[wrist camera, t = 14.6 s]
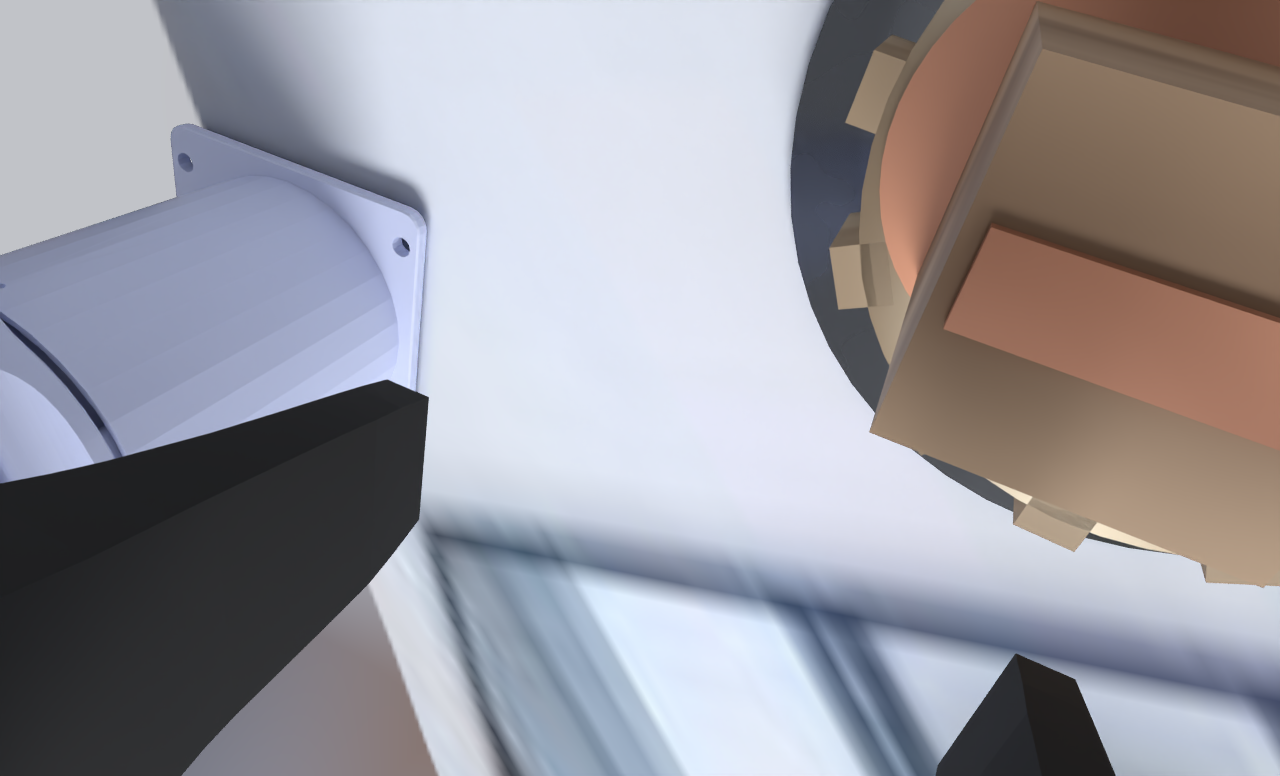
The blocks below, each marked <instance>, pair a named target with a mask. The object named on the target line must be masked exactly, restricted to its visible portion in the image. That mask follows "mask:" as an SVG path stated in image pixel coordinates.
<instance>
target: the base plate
mask: <svg viewBox="0 0 1280 776" xmlns="http://www.w3.org/2000/svg"><path fill="white" fill-rule="evenodd" d="M943 2H944V0H834V1H833V3H832V5H831V7H830V9H829V12H828V14H827V17H826V20H825V22H824V25H823V28H822V30H821V33H820V36H819V39H818V41H817V44H816V47H815V49H814V52H813V55H812V57H811V60H810V63H809V66H808V70H807V74H806V78H805V83H804V87H803V91H802V95H801V99H800V103H799V108H798V112H797V116H796V123H795V132H794V141H793V151H792V160H791V217H792V224H793V230H794V237H795V244H796V250H797V257H798V263H799V267H800V270H801V273H802V277H803V280H804V284H805V287H806V290H807V294H808V297H809V301H810V304H811V307H812V309H813V312H814V314H815V316H816V318H817V321H818V323H819V325H820V327H821V330H822V332H823V334H824V336H825V339H826V341H827V343H828V345H829V347H830V349H831V351H832V352H833V354H834V355H835V357H836V359H837V360H838V362H839V364H840V365H841V367H842V369H843V370H844V372H845V373H846V375H847V377H848V378H849V380H850V382H851V383H852V385H853V386H854V387H855V388H856V390H857V391H858V392H859V393H860V395H861V396H862V397H863V398H864V400H865V401H866V402H867V403H868V404H869V406H870V407H871V408H872V409H873V411H874V412H876V409H877V405H878V402H879V399H880V396H881V392H882V389H883V386H884V383H885V379H886V376H887V373H888V370H889V364H888V362H887V360H886V358H885V356H884V354H883V352H882V349H881V346H880V343H879V341H878V338H877V335H876V332H875V329H874V327H873V324H872V321H871V318H870V315H869V310H868V307H864V308H852V309H839V310H838V303H837V297H836V290H835V283H834V276H833V270H832V263H831V256H830V249H829V247H830V246H831V244H832V242H833V241H834V239H835V237H836V236H837V234H838V232H839V231H840V229H841V227H842V226H843V224H844V222H845V221H846V219H847V217H848V216H849V214H850V213H856V212H861V199H862V189H863V184H864V179H865V174H866V170H867V165H868V160H869V155H870V151H871V146H872V143H873V140H874V137H875V134H874V133H872V132H869V131H866V130H864V129H861V128H858V127H856V126H853V125H850V124H848V123H845V122H846V119H847V117H848V114H849V112H850V109H851V107H852V104H853V102H854V99H855V97H856V94H857V92H858V89H859V87H860V84H861V82H862V79H863V77H864V74H865V72H866V69H867V67H868V64H869V62H870V59H871V57H872V54H873V51H874V50H875V49H876V48H877V47H878V46H879V45H880V44H882V43H883V42H884V41H885V40H886V39H887V38H889V37H890V36H891V35H895V36H898V37H901V38H903V39H906V40H909V41H912V42H915V43H917V41H918V40H919V38H920V37H921V35H922V34H923V32H924V31H925V29H926V28H927V26H928V25H929V23H930V21H931V20H932V18H933V17H934V15H935V14H936V12H937V11H938V9H939V8H940V6H941V5H942V3H943ZM912 450H913V449H912ZM914 451H915V452H916V453H918V454H919V452H918V451H916V450H914ZM919 455H920V454H919ZM920 456H921V457H923V458H924V459H925V460H927V461H928V462H929V463H931V464H932V465H933V466H935V467H936V468H937V469H938V470H940V471H941V472H942V473H944V474H945V475H946V476H948V477H950V478H951V479H953V480H955V481H956V482H958V483H960V484H961V485H963V486H965V487H966V488H968V489H970V490H971V491H973V492H975V493H976V494H978V495H980V496H981V497H983V498H985V499H986V500H989V501H991V502H993V503H995V504H997V505H999V506H1002V507H1004V508H1006V509H1008V510H1010V511H1012V512H1013V509H1014V497H1013V496H1012V495H1010V494H1009V493H1007V492H1006V491H1004V490H1002V489H1001V488H999V487H998V486H996V485H995V484H993V483H992V482H990V481H989V480H987V479H986V478H984V477H981V476H979V475H976V474H974V473H971V472H969V471H966V470H964V469H961V468H959V467H956V466H953V465H951V464H948V463H946V462H943V461H941V460H938V459H936V458H933V457H931V456H928V455H926V454H923V455H920ZM1086 538H1089V539H1093V540H1097V541H1102V542H1106V543H1110V544H1114V545H1119V546H1123V547H1127V548H1133V549H1140V550H1148V551H1155V550H1150V549H1145V548H1141V547H1137V546H1134V545H1130V544H1126V543H1123V542H1119V541H1116V540H1112V539H1108V538H1105V537H1101V536H1098V535H1095V534H1093V533H1090V532H1089V534H1088V535H1087V536H1086ZM1155 552H1161V551H1155ZM1162 553H1167V552H1162ZM1169 554H1172V553H1169ZM1176 555H1178V554H1176Z"/></svg>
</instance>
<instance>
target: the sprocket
mask: <svg viewBox="0 0 1280 776" xmlns="http://www.w3.org/2000/svg"><path fill="white" fill-rule="evenodd" d="M1036 1H1040V2H1043V3H1047V4H1051V5H1054V6H1058V7H1062V8H1065V9H1069V10H1073V11H1076V12H1080V13H1084V14H1087V15H1091V16H1095V17H1098V18H1102V19H1106V20H1109V21H1113V22H1117V23H1120V24H1124V25H1128V26H1131V27H1135V28H1139V29H1142V30H1146V31H1150V32H1153V33H1157V34H1161V35H1164V36H1168V37H1172V38H1175V39H1179V40H1183V41H1186V42H1190V43H1194V44H1197V45H1201V46H1205V47H1209V48H1212V49H1216V50H1220V51H1223V52H1227V53H1231V54H1234V55H1238V56H1242V57H1245V58H1249V59H1253V60H1256V61H1260V62H1264V63H1267V64H1271V65H1275V66H1278V67H1280V0H944V2H943V3H942V5H941V6H940V8H939V9H938V11H937V12H936V14H935V15H934V17H933V18H932V20H931V21H930V23H929V25H928V26H927V28H926V29H925V31H924V32H923V34H922V35H921V37H920V38H919V40H918V41H917V43H915V42H912V41H909V40H906V39H903V38H901V37H898V36H895V35H891V36H890V37H889V38H887V39H886V40H885V41H884V42H883V43H882V44H880V45H879V46H878V47H877V48H876V49H875V50H874V51H873V54H872V57H871V59H870V62H869V64H868V67H867V69H866V72H865V74H864V77H863V79H862V82H861V84H860V87H859V89H858V92H857V94H856V97H855V99H854V102H853V104H852V107H851V109H850V112H849V114H848V117H847V119H846V122H845V123H848V124H850V125H853V126H856V127H858V128H861V129H864V130H866V131H869V132H872V133H874V134H875V137H874V140H873V143H872V146H871V151H870V155H869V160H868V165H867V170H866V174H865V179H864V184H863V189H862V199H861V212H856V213H850V214H849V216H848V217H847V219H846V221H845V222H844V224H843V226H842V227H841V229H840V231H839V232H838V234H837V236H836V237H835V239H834V241H833V242H832V244H831V246H830V247H829V249H830V256H831V263H832V270H833V276H834V283H835V290H836V297H837V303H838V310H839V309H852V308H864V307H868V310H869V315H870V318H871V321H872V324H873V327H874V329H875V332H876V335H877V338H878V341H879V343H880V346H881V349H882V352H883V354H884V356H885V358H886V360H887V362H888V364H889V366H890V363H891V360H892V357H893V353H894V350H895V347H896V343H897V340H898V337H899V334H900V330H901V327H902V324H903V321H904V317H905V314H906V311H907V308H908V304H909V301H910V298H911V294H912V291H913V288H914V285H915V281H916V278H917V275H918V273H919V271H920V268H921V266H922V264H923V261H924V259H925V257H926V254H927V252H928V250H929V248H930V245H931V243H932V241H933V238H934V236H935V234H936V231H937V229H938V227H939V225H940V222H941V220H942V218H943V215H944V213H945V211H946V208H947V206H948V204H949V202H950V199H951V197H952V195H953V192H954V190H955V188H956V185H957V183H958V181H959V179H960V176H961V174H962V172H963V169H964V167H965V165H966V162H967V160H968V158H969V156H970V153H971V151H972V149H973V146H974V144H975V142H976V139H977V137H978V135H979V133H980V130H981V128H982V126H983V123H984V121H985V119H986V116H987V114H988V112H989V110H990V107H991V105H992V103H993V100H994V98H995V96H996V93H997V91H998V89H999V87H1000V84H1001V82H1002V80H1003V77H1004V75H1005V73H1006V70H1007V68H1008V66H1009V64H1010V61H1011V59H1012V57H1013V54H1014V52H1015V50H1016V47H1017V45H1018V43H1019V41H1020V38H1021V36H1022V34H1023V31H1024V29H1025V27H1026V24H1027V22H1028V20H1029V18H1030V15H1031V13H1032V11H1033V8H1034V6H1035V4H1036ZM919 454H920V455H923V453H921V452H919ZM987 480H989V479H987ZM989 481H990V482H992V483H993V484H995V485H996V486H998V487H999V488H1001V489H1002V490H1004V491H1006V492H1007V493H1009V494H1010V495H1012V496H1013V497H1014V509H1013V525H1016V526H1018V527H1020V528H1022V529H1025V530H1027V531H1029V532H1031V533H1033V534H1036V535H1038V536H1040V537H1042V538H1045V539H1047V540H1049V541H1051V542H1053V543H1056V544H1058V545H1060V546H1062V547H1064V548H1067V549H1069V550H1071V551H1073V552H1075V550H1076V549H1077V548H1078V546H1079V545H1080V544H1081V543H1082V541H1083V540H1084V539H1085V538H1086V536H1087V535H1088V534H1089V532H1090V533H1093V534H1095V535H1098V536H1101V537H1105V538H1108V539H1112V540H1116V541H1119V542H1123V543H1126V544H1130V545H1134V546H1137V547H1141V548H1145V549H1150V550H1155V551H1161V552H1167V553H1172V554H1176V553H1174V552H1171V551H1168V550H1166V549H1163V548H1161V547H1158V546H1156V545H1153V544H1151V543H1148V542H1146V541H1143V540H1141V539H1138V538H1136V537H1133V536H1131V535H1128V534H1125V533H1123V532H1120V531H1118V530H1115V529H1113V528H1110V527H1108V526H1105V525H1103V524H1100V523H1098V522H1095V521H1093V520H1090V519H1088V518H1085V517H1082V516H1080V515H1077V514H1075V513H1072V512H1070V511H1067V510H1065V509H1062V508H1060V507H1057V506H1055V505H1052V504H1050V503H1047V502H1045V501H1042V500H1039V499H1037V498H1034V497H1032V496H1029V495H1027V494H1024V493H1022V492H1019V491H1017V490H1014V489H1012V488H1009V487H1007V486H1004V485H1002V484H999V483H996V482H994V481H991V480H989ZM1178 555H1179V554H1178ZM1201 566H1202V570H1203V573H1204V577H1205V581H1206V582H1207V583H1227V584H1247V585H1254V584H1252V583H1249V582H1247V581H1244V580H1242V579H1239V578H1237V577H1234V576H1232V575H1229V574H1227V573H1224V572H1222V571H1219V570H1217V569H1214V568H1211V567H1209V566H1206V565H1204V564H1201ZM1266 585H1268V586H1280V570H1279V571H1278V572H1277V573H1276V574H1275V575H1274V577H1273V578H1272V579H1271V580H1270V581H1269V582H1268V583H1267V584H1266Z"/></svg>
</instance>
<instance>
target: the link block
mask: <svg viewBox="0 0 1280 776" xmlns="http://www.w3.org/2000/svg"><path fill="white" fill-rule="evenodd" d="M870 433H873V434H875V435H878V436H880V437H883V438H885V439H888V440H890V441H893V442H895V443H898V444H900V445H903V446H905V447H908V448H910V449H913V450H916V451H918V452H921V453H923V454H926V455H928V456H931V457H933V458H936V459H938V460H941V461H943V462H946V463H948V464H951V465H953V466H956V467H959V468H961V469H964V470H966V471H969V472H971V473H974V474H976V475H979V476H981V477H984V478H986V479H989V480H991V481H994V482H996V483H999V484H1002V485H1004V486H1007V487H1009V488H1012V489H1014V490H1017V491H1019V492H1022V493H1024V494H1027V495H1029V496H1032V497H1034V498H1037V499H1039V500H1042V501H1045V502H1047V503H1050V504H1052V505H1055V506H1057V507H1060V508H1062V509H1065V510H1067V511H1070V512H1072V513H1075V514H1077V515H1080V516H1082V517H1085V518H1088V519H1090V520H1093V521H1095V522H1098V523H1100V524H1103V525H1105V526H1108V527H1110V528H1113V529H1115V530H1118V531H1120V532H1123V533H1125V534H1128V535H1131V536H1133V537H1136V538H1138V539H1141V540H1143V541H1146V542H1148V543H1151V544H1153V545H1156V546H1158V547H1161V548H1163V549H1166V550H1168V551H1171V552H1174V553H1176V554H1179V555H1181V556H1184V557H1186V558H1189V559H1191V560H1194V561H1196V562H1199V563H1201V564H1204V565H1206V566H1209V567H1211V568H1214V569H1217V570H1219V571H1222V572H1224V573H1227V574H1229V575H1232V576H1234V577H1237V578H1239V579H1242V580H1244V581H1247V582H1249V583H1252V584H1254V585H1257V586H1260V587H1262V588H1264V587H1265V585H1266V584H1267V583H1268V582H1269V581H1270V580H1271V579H1272V578H1273V577H1274V575H1275V574H1276V573H1277V572H1278V571H1279V570H1280V67H1278V66H1275V65H1271V64H1267V63H1264V62H1260V61H1256V60H1253V59H1249V58H1245V57H1242V56H1238V55H1234V54H1231V53H1227V52H1223V51H1220V50H1216V49H1212V48H1209V47H1205V46H1201V45H1197V44H1194V43H1190V42H1186V41H1183V40H1179V39H1175V38H1172V37H1168V36H1164V35H1161V34H1157V33H1153V32H1150V31H1146V30H1142V29H1139V28H1135V27H1131V26H1128V25H1124V24H1120V23H1117V22H1113V21H1109V20H1106V19H1102V18H1098V17H1095V16H1091V15H1087V14H1084V13H1080V12H1076V11H1073V10H1069V9H1065V8H1062V7H1058V6H1054V5H1051V4H1047V3H1043V2H1040V1H1036V4H1035V6H1034V8H1033V11H1032V13H1031V15H1030V18H1029V20H1028V22H1027V24H1026V27H1025V29H1024V31H1023V34H1022V36H1021V38H1020V41H1019V43H1018V45H1017V47H1016V50H1015V52H1014V54H1013V57H1012V59H1011V61H1010V64H1009V66H1008V68H1007V70H1006V73H1005V75H1004V77H1003V80H1002V82H1001V84H1000V87H999V89H998V91H997V93H996V96H995V98H994V100H993V103H992V105H991V107H990V110H989V112H988V114H987V116H986V119H985V121H984V123H983V126H982V128H981V130H980V133H979V135H978V137H977V139H976V142H975V144H974V146H973V149H972V151H971V153H970V156H969V158H968V160H967V162H966V165H965V167H964V169H963V172H962V174H961V176H960V179H959V181H958V183H957V185H956V188H955V190H954V192H953V195H952V197H951V199H950V202H949V204H948V206H947V208H946V211H945V213H944V215H943V218H942V220H941V222H940V225H939V227H938V229H937V231H936V234H935V236H934V238H933V241H932V243H931V245H930V248H929V250H928V252H927V254H926V257H925V259H924V261H923V264H922V266H921V268H920V271H919V273H918V275H917V278H916V281H915V285H914V288H913V291H912V294H911V298H910V301H909V304H908V308H907V311H906V314H905V317H904V321H903V324H902V327H901V330H900V334H899V337H898V340H897V343H896V347H895V350H894V353H893V357H892V360H891V363H890V366H889V370H888V373H887V376H886V379H885V383H884V386H883V389H882V392H881V396H880V399H879V402H878V405H877V409H876V412H875V415H874V419H873V422H872V425H871V428H870Z"/></svg>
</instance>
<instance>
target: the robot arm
mask: <svg viewBox="0 0 1280 776" xmlns="http://www.w3.org/2000/svg"><path fill="white" fill-rule="evenodd" d="M171 147H172V156H173V165H174V176H175V185H176V195H177V197H176V198H173V199H170V200H167V201H164V202H161V203H158V204H155V205H152V206H149V207H146V208H143V209H140V210H137V211H134V212H131V213H128V214H124V215H121V216H118V217H116V218H112V219H109V220H106V221H103V222H100V223H97V224H94V225H91V226H88V227H85V228H82V229H79V230H76V231H73V232H70V233H67V234H64V235H60V236H58V237H55V238H51V239H49V240H45V241H42V242H40V243H36V244H33V245H30V246H27V247H24V248H21V249H18V250H15V251H12V252H9V253H6V254H3V255H0V776H181V775H182V774H183V773H184V772H185V771H186V769H187V768H188V767H189V766H190V764H192V762H193V761H194V760H195V759H196V758H197V756H198V755H199V754H200V753H201V752H202V750H203V749H204V748H205V747H206V746H207V745H208V744H209V743H210V742H211V741H212V740H213V739H214V737H215V736H216V735H217V734H218V733H219V732H220V731H221V730H222V729H223V728H224V727H225V726H226V725H227V724H228V723H229V721H230V720H231V719H232V718H233V717H234V716H235V715H236V714H237V713H238V712H239V711H240V710H241V709H242V708H243V707H244V706H245V705H246V704H247V703H248V702H249V701H250V700H251V699H252V698H253V697H255V695H257V694H258V693H259V692H260V691H261V690H262V689H263V688H264V687H265V686H266V685H267V684H268V683H269V682H270V681H271V680H272V679H273V678H274V677H275V676H276V675H277V674H278V673H279V672H280V671H281V670H282V669H283V668H284V667H285V666H286V665H287V664H288V663H289V662H290V661H291V660H292V659H293V658H294V657H295V656H296V655H297V654H298V653H299V652H300V651H301V650H302V649H303V648H304V647H306V646H307V644H308V643H310V641H312V639H314V638H315V637H316V636H317V635H318V634H319V633H320V632H321V631H322V630H323V629H324V628H325V627H326V626H327V625H328V624H329V623H330V622H331V621H332V620H333V619H334V618H335V617H336V616H337V615H338V614H339V613H340V612H341V611H342V610H343V609H344V608H345V607H346V606H347V605H348V604H349V603H350V602H351V601H352V600H353V599H354V598H355V597H356V596H357V595H358V594H359V593H360V592H361V591H362V590H363V589H364V588H365V587H366V586H367V585H368V584H369V583H370V582H371V580H372V579H373V578H374V577H375V575H376V574H377V573H378V572H379V570H380V569H381V568H382V567H383V565H384V564H385V563H386V562H387V561H388V559H389V558H390V557H391V556H392V554H393V553H394V552H395V550H396V549H397V548H398V546H399V545H400V544H401V542H402V541H403V540H404V539H405V537H406V536H407V535H408V533H409V532H410V531H411V529H412V528H413V527H414V525H415V524H416V523H417V521H418V520H419V514H420V501H421V488H422V476H423V463H424V451H425V438H426V426H427V413H428V401H429V397H427V396H425V395H422V394H420V393H418V392H415V391H416V376H417V362H418V348H419V334H420V320H421V306H422V292H423V278H424V264H425V250H426V235H427V229H426V223H425V221H424V219H423V217H422V216H421V214H420V213H419V212H418V211H417V210H415V209H413V208H412V207H409V206H407V205H404V204H401V203H399V202H396V201H393V200H391V199H388V198H386V197H383V196H380V195H378V194H375V193H372V192H370V191H367V190H365V189H362V188H359V187H357V186H354V185H351V184H349V183H346V182H343V181H341V180H338V179H336V178H333V177H330V176H328V175H325V174H322V173H320V172H317V171H314V170H312V169H309V168H307V167H304V166H301V165H299V164H296V163H293V162H291V161H288V160H285V159H283V158H280V157H278V156H275V155H272V154H270V153H267V152H264V151H262V150H259V149H257V148H254V147H251V146H249V145H246V144H243V143H241V142H238V141H235V140H233V139H230V138H228V137H225V136H222V135H220V134H217V133H214V132H212V131H209V130H206V129H204V128H201V127H199V126H196V125H193V124H183V125H179V126H176V127H174V128H173V130H172V132H171ZM190 159H191V160H192V162H191V160H190ZM192 163H193V164H192ZM402 238H403V239H404V240H406V241H407V243H408V245H409V248H410V251H408V250H407V249H405V247H404V246H403V244H402ZM936 776H1116V775H1115V773H1114V770H1113V768H1112V766H1111V763H1110V761H1109V759H1108V756H1107V754H1106V751H1105V749H1104V747H1103V744H1102V742H1101V739H1100V737H1099V735H1098V732H1097V730H1096V727H1095V725H1094V723H1093V720H1092V718H1091V716H1090V713H1089V711H1088V708H1087V706H1086V704H1085V701H1084V699H1083V697H1082V694H1081V692H1080V690H1079V687H1078V685H1077V683H1076V680H1075V679H1073V678H1071V677H1069V676H1066V675H1064V674H1062V673H1059V672H1057V671H1055V670H1053V669H1050V668H1048V667H1046V666H1043V665H1041V664H1039V663H1036V662H1034V661H1032V660H1030V659H1027V658H1025V657H1023V656H1020V655H1018V654H1015V655H1014V656H1013V658H1012V659H1011V661H1010V662H1009V664H1008V665H1007V667H1006V668H1005V669H1004V671H1003V672H1002V674H1001V675H1000V677H999V678H998V680H997V681H996V682H995V684H994V685H993V687H992V688H991V690H990V691H989V692H988V694H987V695H986V697H985V698H984V700H983V701H982V703H981V704H980V705H979V707H978V708H977V710H976V711H975V713H974V714H973V716H972V717H971V718H970V720H969V721H968V723H967V724H966V726H965V727H964V728H963V730H962V731H961V733H960V734H959V736H958V737H957V739H956V740H955V741H954V743H953V744H952V746H951V747H950V749H949V750H948V752H947V753H946V754H945V756H944V757H943V759H942V760H941V762H940V763H939V764H938V767H937V772H936Z"/></svg>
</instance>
